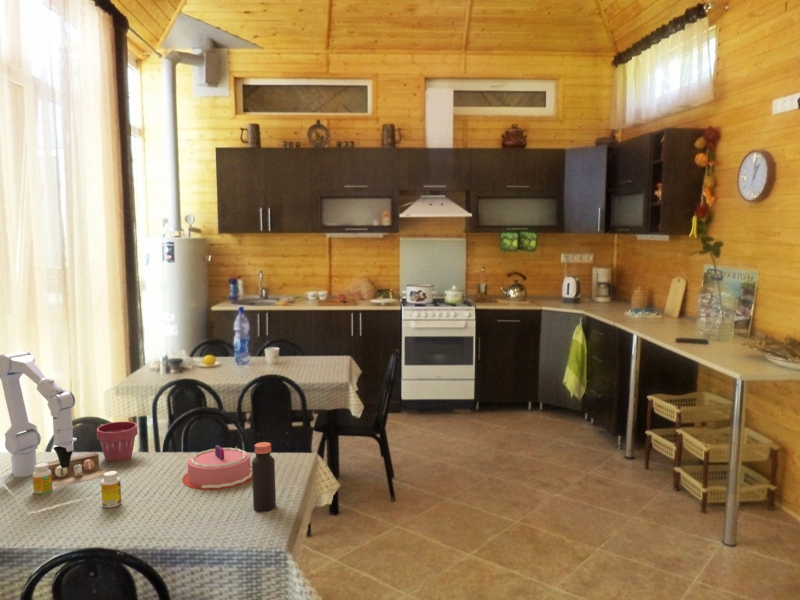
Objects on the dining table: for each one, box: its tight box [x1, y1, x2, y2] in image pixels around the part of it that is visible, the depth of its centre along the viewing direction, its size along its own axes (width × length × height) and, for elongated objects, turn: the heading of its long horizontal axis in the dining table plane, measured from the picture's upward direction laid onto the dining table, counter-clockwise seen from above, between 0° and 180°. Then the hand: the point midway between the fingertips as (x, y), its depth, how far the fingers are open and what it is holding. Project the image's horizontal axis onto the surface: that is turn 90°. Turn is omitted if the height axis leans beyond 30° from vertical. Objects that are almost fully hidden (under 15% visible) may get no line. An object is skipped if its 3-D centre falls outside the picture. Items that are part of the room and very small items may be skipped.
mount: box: [46, 451, 107, 489], centre depth 222 cm, size 16×17×6 cm
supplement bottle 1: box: [32, 462, 53, 495], centre depth 207 cm, size 5×5×10 cm
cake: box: [181, 445, 253, 491], centre depth 222 cm, size 25×25×11 cm
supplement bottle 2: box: [100, 470, 122, 509], centre depth 198 cm, size 6×6×10 cm
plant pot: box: [96, 421, 138, 462], centre depth 240 cm, size 14×14×13 cm
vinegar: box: [251, 441, 277, 513], centre depth 194 cm, size 7×7×20 cm
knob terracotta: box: [82, 459, 95, 471], centre depth 228 cm, size 9×4×4 cm, turn 43°
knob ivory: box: [54, 465, 67, 477], centre depth 222 cm, size 9×4×4 cm, turn 43°
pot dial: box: [74, 464, 83, 478], centre depth 220 cm, size 3×3×4 cm
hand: (65, 467), depth 215 cm, fingers closed
